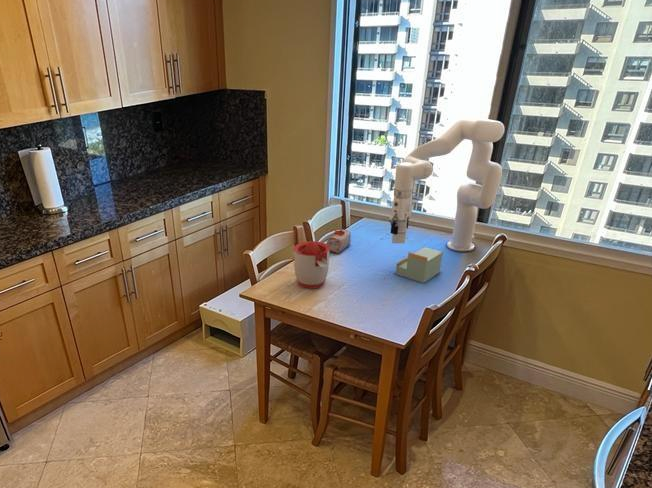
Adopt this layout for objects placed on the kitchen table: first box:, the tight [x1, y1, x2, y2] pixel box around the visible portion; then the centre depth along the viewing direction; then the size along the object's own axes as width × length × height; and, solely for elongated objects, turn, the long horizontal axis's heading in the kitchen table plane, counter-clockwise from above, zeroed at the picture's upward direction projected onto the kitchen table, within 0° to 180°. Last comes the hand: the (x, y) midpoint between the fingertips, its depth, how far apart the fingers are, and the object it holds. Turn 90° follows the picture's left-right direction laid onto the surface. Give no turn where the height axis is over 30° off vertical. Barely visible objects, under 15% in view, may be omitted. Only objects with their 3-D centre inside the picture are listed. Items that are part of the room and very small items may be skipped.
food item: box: [326, 229, 352, 255], centre depth 258 cm, size 14×8×10 cm, turn 144°
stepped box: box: [395, 246, 444, 284], centre depth 229 cm, size 14×14×12 cm
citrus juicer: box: [293, 240, 330, 289], centre depth 223 cm, size 16×17×20 cm
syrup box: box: [391, 212, 408, 244], centre depth 230 cm, size 6×6×14 cm
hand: (399, 230), depth 231 cm, fingers closed on syrup box, 7 cm apart
